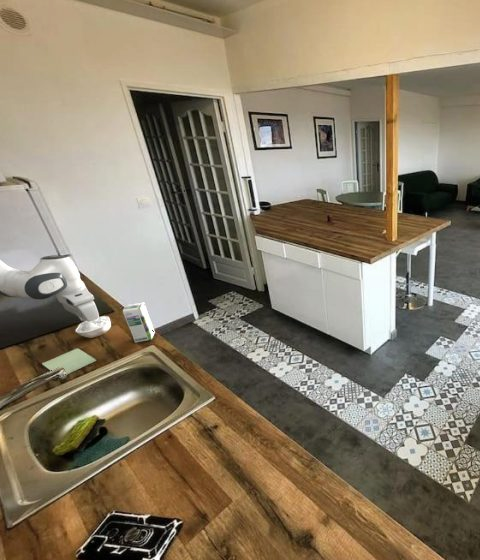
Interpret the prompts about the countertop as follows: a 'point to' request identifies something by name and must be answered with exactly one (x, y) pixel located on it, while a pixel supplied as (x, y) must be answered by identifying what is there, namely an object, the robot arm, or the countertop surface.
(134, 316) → the syrup box
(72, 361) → the dish cloth
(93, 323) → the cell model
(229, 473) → the countertop surface
